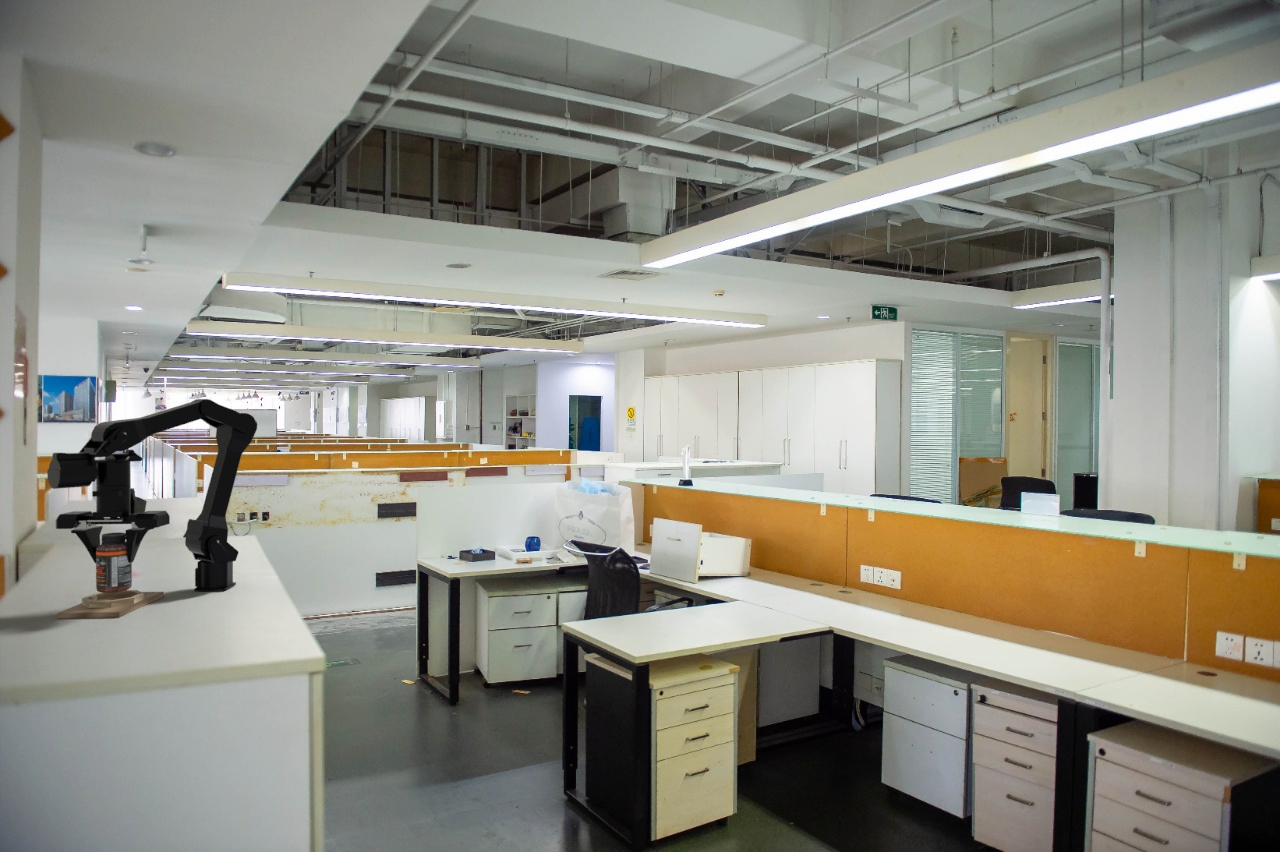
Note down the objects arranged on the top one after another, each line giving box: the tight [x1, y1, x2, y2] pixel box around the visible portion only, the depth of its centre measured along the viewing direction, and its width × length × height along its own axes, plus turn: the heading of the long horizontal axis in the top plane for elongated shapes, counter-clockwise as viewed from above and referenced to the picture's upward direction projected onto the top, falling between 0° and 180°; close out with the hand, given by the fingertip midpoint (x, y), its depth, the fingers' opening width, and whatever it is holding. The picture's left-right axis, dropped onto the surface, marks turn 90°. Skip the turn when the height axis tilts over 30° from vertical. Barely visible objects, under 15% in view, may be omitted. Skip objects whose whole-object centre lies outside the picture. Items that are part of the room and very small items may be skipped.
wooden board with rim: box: [56, 589, 165, 619], centre depth 157 cm, size 11×17×2 cm, turn 6°
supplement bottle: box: [95, 531, 133, 593], centre depth 157 cm, size 6×6×11 cm
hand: (114, 562), depth 157 cm, fingers closed on supplement bottle, 6 cm apart
